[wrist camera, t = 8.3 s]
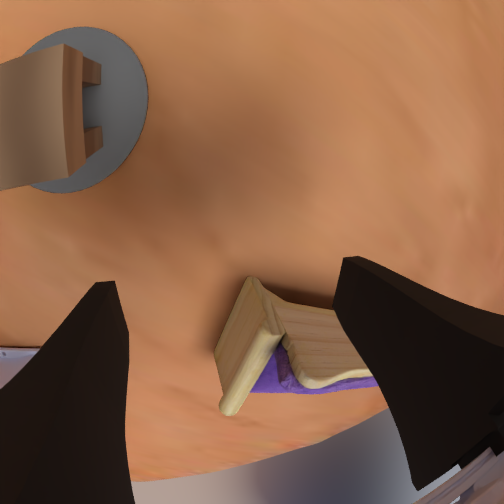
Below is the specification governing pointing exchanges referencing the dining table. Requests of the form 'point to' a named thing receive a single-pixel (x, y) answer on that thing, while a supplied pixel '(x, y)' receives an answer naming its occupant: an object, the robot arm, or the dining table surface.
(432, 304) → the robot arm
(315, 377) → the toy sofa
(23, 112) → the wooden toy stool
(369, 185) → the dining table surface
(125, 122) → the mat
